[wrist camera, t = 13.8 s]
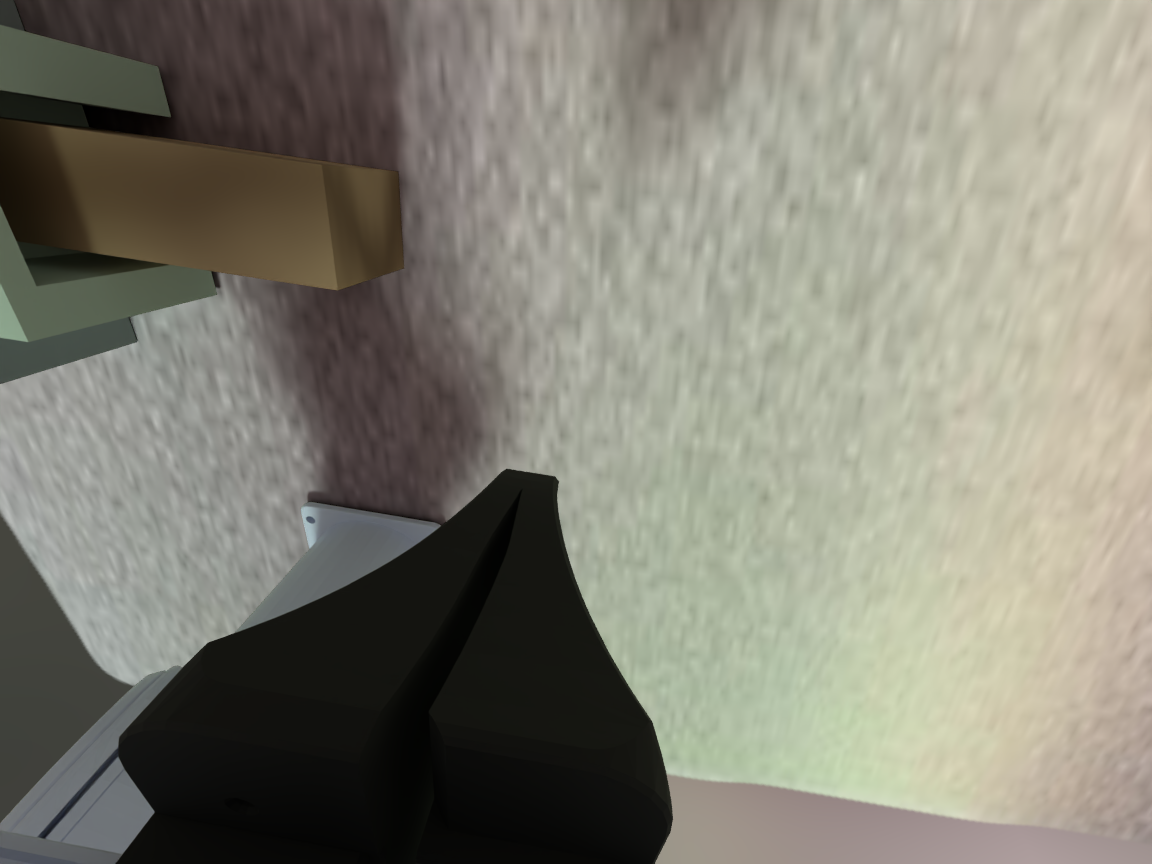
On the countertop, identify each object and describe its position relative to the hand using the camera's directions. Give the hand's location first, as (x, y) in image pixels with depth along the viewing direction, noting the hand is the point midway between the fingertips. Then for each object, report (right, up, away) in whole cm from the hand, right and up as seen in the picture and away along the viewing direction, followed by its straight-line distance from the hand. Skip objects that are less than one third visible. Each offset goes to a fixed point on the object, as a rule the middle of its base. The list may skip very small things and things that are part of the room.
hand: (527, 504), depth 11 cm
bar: (-12, +11, +7) cm, 18 cm away
